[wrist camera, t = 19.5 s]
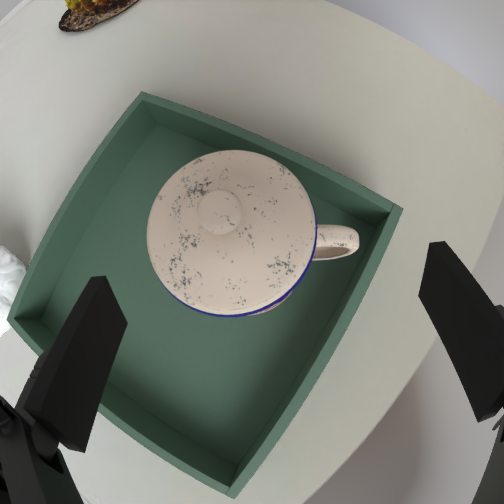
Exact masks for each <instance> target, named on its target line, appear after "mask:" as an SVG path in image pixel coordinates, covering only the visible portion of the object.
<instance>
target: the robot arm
mask: <svg viewBox="0 0 504 504" xmlns="http://www.w3.org/2000/svg"><path fill="white" fill-rule="evenodd" d="M418 296H419V298H420V300H421V302H422V304H423V305H424V307H425V309H426V311H427V313H428V315H429V317H430V319H431V321H432V322H433V324H434V326H435V328H436V330H437V332H438V334H439V336H440V338H441V340H442V342H443V344H444V346H445V348H446V350H447V352H448V354H449V357H450V359H451V361H452V363H453V365H454V367H455V369H456V372H457V373H458V376H459V378H460V381H461V383H462V385H463V387H464V390H465V392H466V394H467V397H468V399H469V402H470V404H471V407H472V409H473V411H474V414H475V417H476V419H477V422H481V421H483V420H486V419H488V418H491V417H493V416H495V415H496V414H497V413H498V411H499V410H500V409H501V408H502V406H503V409H504V307H503V306H502V305H497V306H494V305H493V303H492V302H491V300H490V299H489V297H488V296H487V295H486V293H485V292H484V291H483V289H482V288H481V286H480V285H479V284H478V282H477V281H476V280H475V278H474V277H473V276H472V274H471V273H470V272H469V270H468V269H467V268H466V267H465V265H464V264H463V263H462V262H461V260H460V259H459V258H458V257H457V255H456V254H455V253H454V252H453V250H452V249H451V248H450V247H449V246H448V244H447V243H446V242H445V241H442V242H433V243H429V248H428V253H427V258H426V263H425V268H424V273H423V278H422V282H421V286H420V291H419V295H418ZM127 325H128V322H127V320H126V318H125V316H124V314H123V312H122V310H121V308H120V306H119V303H118V301H117V299H116V297H115V295H114V293H113V290H112V288H111V286H110V284H109V281H108V279H107V277H106V275H105V276H94V277H91V278H90V279H89V281H88V283H87V284H86V286H85V288H84V289H83V291H82V293H81V294H80V296H79V298H78V300H77V301H76V303H75V305H74V306H73V308H72V310H71V312H70V314H69V315H68V317H67V319H66V321H65V323H64V324H63V326H62V328H61V330H60V332H59V334H58V336H57V337H56V339H55V341H54V343H53V345H52V347H47V349H46V350H45V351H44V352H43V353H42V354H41V355H40V356H39V358H38V360H37V362H36V364H35V366H34V370H32V372H31V374H30V378H28V380H27V382H26V384H25V386H24V389H23V391H22V393H21V395H20V397H19V399H18V402H17V404H16V406H15V408H13V407H12V406H11V405H10V404H9V403H8V402H7V401H6V400H5V399H4V398H3V397H2V396H0V504H84V503H83V501H82V498H81V496H80V494H79V492H78V490H77V488H76V486H75V483H74V481H73V479H72V477H71V474H70V472H69V470H68V467H67V465H66V462H65V460H64V457H63V455H62V453H61V451H60V450H59V449H58V444H59V442H60V443H62V444H63V445H64V446H65V447H66V448H68V449H70V450H74V451H79V452H83V453H85V451H86V447H87V443H88V440H89V437H90V433H91V430H92V426H93V423H94V420H95V417H96V413H97V410H98V407H99V404H100V401H101V398H102V395H103V392H104V389H105V386H106V383H107V380H108V377H109V374H110V371H111V368H112V365H113V363H114V360H115V357H116V354H117V352H118V349H119V346H120V343H121V341H122V338H123V335H124V333H125V330H126V327H127ZM499 425H500V427H499V431H498V434H497V437H496V440H495V444H494V447H493V450H492V453H491V456H490V459H489V461H488V464H487V467H486V470H485V472H484V475H483V478H482V480H481V483H480V485H479V487H478V490H477V492H476V495H475V497H474V499H473V502H472V504H504V415H503V416H502V417H501V418H500V420H499V421H498V422H497V423H496V424H495V426H494V427H493V429H492V430H495V429H496V428H497V427H498V426H499Z"/></svg>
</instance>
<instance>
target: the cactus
mask: <svg viewBox="0 0 504 504" xmlns="http://www.w3.org/2000/svg"><path fill="white" fill-rule="evenodd" d="M65 1H66V3H67V4H66V6H67V7H68V10H67V11H66V12H65V13H64V14H63V16H62V18H61V21H60V22H59V26H58V27H59V28H60V29H61V30H63V31H66V32H70V31H76V32H77V31H83V30H85V29H88V28H91V27H92V26H93V25H94V24H95V23H98V22H101V21H103V20H105V19H108V18H110V17H112V16H114V15H116V14H118V13H120V12H121V11H123V10H125V9H126V8H127V7H129V6H130V5H131V4H133V3H134V2H136V1H137V0H65Z"/></svg>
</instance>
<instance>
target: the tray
mask: <svg viewBox="0 0 504 504" xmlns="http://www.w3.org/2000/svg"><path fill="white" fill-rule="evenodd" d="M225 150H243V151H250V152H255V153H259V154H262V155H265V156H267V157H269V158H271V159H273V160H275V161H277V162H279V163H280V164H282V165H283V166H285V167H286V168H287V169H288V170H289V171H291V172H292V173H293V174H294V175H295V176H296V178H297V179H298V180H299V181H300V182H301V183H302V185H303V186H304V188H305V189H306V191H307V193H308V195H309V197H310V199H311V201H312V204H313V207H314V210H315V214H316V219H317V225H341V226H346V227H349V228H352V229H354V230H355V231H356V232H357V233H358V235H359V248H358V249H357V250H356V251H355V252H354V253H352V254H350V255H347V256H344V257H341V258H336V259H328V260H312V262H311V264H310V266H309V268H308V270H307V272H306V274H305V275H304V277H303V278H302V280H301V281H300V283H299V284H298V285H297V286H296V287H295V288H294V290H293V291H292V292H291V294H290V295H289V296H288V297H287V298H286V299H285V300H284V301H283V302H282V303H280V304H279V305H278V306H276V307H275V308H273V309H271V310H269V311H266V312H264V313H260V314H256V315H247V316H242V317H216V316H210V315H206V314H203V313H200V312H198V311H195V310H193V309H191V308H189V307H187V306H185V305H184V304H182V303H181V302H179V301H178V300H177V299H176V298H174V297H173V296H172V295H171V294H170V293H169V292H168V291H167V290H166V289H165V287H164V286H163V285H162V283H161V282H160V280H159V279H158V277H157V275H156V273H155V271H154V269H153V266H152V264H151V261H150V257H149V253H148V247H147V225H148V219H149V215H150V211H151V208H152V205H153V203H154V201H155V199H156V197H157V195H158V193H159V192H160V190H161V189H162V187H163V186H164V184H165V183H166V182H167V181H168V180H169V179H170V178H171V176H172V175H173V174H174V173H176V172H177V171H178V170H179V169H180V168H182V167H183V166H185V165H186V164H188V163H189V162H191V161H193V160H195V159H197V158H199V157H201V156H204V155H207V154H210V153H214V152H219V151H225ZM402 211H403V208H402V207H400V206H398V205H396V204H395V203H393V202H391V201H389V200H388V199H386V198H384V197H382V196H380V195H379V194H377V193H375V192H373V191H371V190H370V189H368V188H366V187H364V186H362V185H360V184H359V183H357V182H355V181H353V180H351V179H349V178H347V177H345V176H343V175H341V174H339V173H337V172H335V171H334V170H332V169H330V168H328V167H326V166H324V165H322V164H319V163H317V162H315V161H313V160H311V159H309V158H307V157H305V156H303V155H301V154H299V153H297V152H294V151H292V150H290V149H288V148H286V147H284V146H281V145H279V144H277V143H275V142H272V141H270V140H268V139H266V138H263V137H261V136H259V135H256V134H254V133H252V132H249V131H247V130H245V129H242V128H240V127H237V126H235V125H233V124H230V123H228V122H225V121H223V120H220V119H217V118H215V117H212V116H210V115H207V114H204V113H202V112H199V111H196V110H194V109H191V108H188V107H186V106H183V105H180V104H177V103H174V102H171V101H169V100H166V99H163V98H160V97H157V96H154V95H151V94H148V93H145V92H141V93H140V94H139V95H138V96H137V98H136V99H135V100H134V101H133V102H132V104H131V105H130V106H129V107H128V109H127V110H126V111H125V112H124V114H123V115H122V116H121V118H120V119H119V120H118V121H117V123H116V124H115V125H114V127H113V128H112V129H111V131H110V132H109V133H108V135H107V136H106V137H105V139H104V140H103V142H102V143H101V144H100V146H99V147H98V149H97V150H96V152H95V153H94V154H93V156H92V157H91V159H90V160H89V162H88V163H87V165H86V166H85V168H84V169H83V171H82V172H81V174H80V175H79V177H78V179H77V180H76V182H75V183H74V185H73V186H72V188H71V190H70V191H69V193H68V195H67V196H66V198H65V200H64V201H63V203H62V205H61V206H60V208H59V210H58V212H57V213H56V215H55V217H54V219H53V220H52V222H51V224H50V226H49V228H48V230H47V231H46V233H45V235H44V237H43V239H42V241H41V243H40V245H39V247H38V249H37V251H36V253H35V255H34V257H33V259H32V261H31V263H30V265H29V267H28V269H27V272H26V274H25V276H24V278H23V280H22V283H21V285H20V287H19V289H18V292H17V294H16V297H15V299H14V301H13V304H12V306H11V309H10V311H9V314H8V316H7V319H6V320H7V322H8V323H9V324H10V325H11V326H12V327H13V329H14V330H15V331H16V332H17V333H18V334H19V336H20V337H21V338H22V339H23V340H24V341H25V342H26V343H27V344H28V346H29V347H30V348H31V349H32V350H33V351H34V352H35V353H36V354H37V355H38V356H40V355H41V354H42V353H43V352H44V351H45V350H46V349H47V347H52V345H53V343H54V341H55V339H56V337H57V336H58V334H59V332H60V330H61V328H62V326H63V324H64V323H65V321H66V319H67V317H68V315H69V314H70V312H71V310H72V308H73V306H74V305H75V303H76V301H77V300H78V298H79V296H80V294H81V293H82V291H83V289H84V288H85V286H86V284H87V283H88V281H89V279H90V278H91V277H94V276H105V275H106V277H107V279H108V281H109V284H110V286H111V288H112V290H113V293H114V295H115V297H116V299H117V301H118V303H119V306H120V308H121V310H122V312H123V314H124V316H125V318H126V320H127V322H128V325H127V327H126V330H125V333H124V335H123V338H122V341H121V343H120V346H119V349H118V352H117V354H116V357H115V360H114V363H113V365H112V368H111V371H110V374H109V377H108V380H107V383H106V386H105V389H104V392H103V395H102V398H101V401H100V404H99V407H98V410H97V411H98V412H99V413H101V414H102V415H103V416H104V417H106V418H107V419H108V420H109V421H111V422H112V423H113V424H114V425H116V426H117V427H118V428H120V429H121V430H122V431H124V432H125V433H126V434H128V435H129V436H130V437H132V438H133V439H135V440H136V441H137V442H139V443H140V444H142V445H143V446H144V447H146V448H147V449H149V450H150V451H152V452H153V453H155V454H156V455H158V456H159V457H161V458H162V459H164V460H165V461H167V462H169V463H170V464H172V465H173V466H175V467H177V468H178V469H180V470H181V471H183V472H185V473H187V474H188V475H190V476H192V477H193V478H195V479H197V480H199V481H200V482H202V483H204V484H206V485H208V486H209V487H211V488H213V489H215V490H217V491H219V492H221V493H223V494H225V495H227V496H229V497H231V498H233V499H235V498H236V497H237V495H238V494H239V493H240V492H241V490H242V489H243V488H244V487H245V485H246V484H247V483H248V481H249V480H250V479H251V477H252V476H253V475H254V474H255V472H256V471H257V470H258V468H259V467H260V466H261V464H262V463H263V461H264V460H265V459H266V457H267V456H268V455H269V453H270V452H271V450H272V449H273V448H274V446H275V445H276V443H277V442H278V440H279V439H280V438H281V436H282V435H283V433H284V432H285V430H286V429H287V427H288V426H289V424H290V423H291V421H292V420H293V418H294V417H295V415H296V414H297V412H298V411H299V409H300V407H301V406H302V404H303V403H304V401H305V400H306V398H307V396H308V395H309V393H310V392H311V390H312V388H313V387H314V385H315V384H316V382H317V380H318V379H319V377H320V375H321V374H322V372H323V370H324V369H325V367H326V365H327V363H328V362H329V360H330V358H331V357H332V355H333V353H334V351H335V349H336V348H337V346H338V344H339V342H340V341H341V339H342V337H343V335H344V333H345V331H346V330H347V328H348V326H349V324H350V322H351V320H352V318H353V316H354V315H355V313H356V311H357V309H358V307H359V305H360V303H361V301H362V299H363V297H364V295H365V293H366V291H367V289H368V287H369V285H370V283H371V281H372V279H373V277H374V275H375V273H376V270H377V268H378V266H379V264H380V262H381V260H382V258H383V255H384V253H385V251H386V249H387V246H388V244H389V242H390V240H391V237H392V235H393V233H394V230H395V228H396V226H397V223H398V221H399V219H400V216H401V214H402Z"/></svg>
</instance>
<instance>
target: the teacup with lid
mask: <svg viewBox="0 0 504 504" xmlns="http://www.w3.org/2000/svg"><path fill="white" fill-rule="evenodd" d="M147 247H148V253H149V257H150V261H151V264H152V266H153V269H154V271H155V273H156V275H157V277H158V279H159V280H160V282H161V283H162V285H163V286H164V287H165V289H166V290H167V291H168V292H169V293H170V294H171V295H172V296H173V297H174V298H176V299H177V300H178V301H179V302H181V303H182V304H184V305H185V306H187V307H189V308H191V309H193V310H195V311H198V312H200V313H203V314H206V315H210V316H216V317H242V316H247V315H256V314H260V313H264V312H266V311H269V310H271V309H273V308H275V307H276V306H278V305H279V304H280V303H282V302H283V301H284V300H285V299H286V298H287V297H288V296H289V295H290V294H291V292H292V291H293V290H294V288H295V287H296V286H297V285H298V284H299V283H300V281H301V280H302V278H303V277H304V275H305V274H306V272H307V270H308V268H309V266H310V264H311V262H312V260H328V259H336V258H341V257H344V256H347V255H350V254H352V253H354V252H355V251H356V250H357V249H358V248H359V235H358V233H357V232H356V231H355V230H354V229H352V228H349V227H346V226H341V225H317V219H316V214H315V210H314V207H313V204H312V201H311V199H310V197H309V195H308V193H307V191H306V189H305V188H304V186H303V185H302V183H301V182H300V181H299V180H298V179H297V178H296V176H295V175H294V174H293V173H292V172H291V171H289V170H288V169H287V168H286V167H285V166H283V165H282V164H280V163H279V162H277V161H275V160H273V159H271V158H269V157H267V156H265V155H262V154H259V153H255V152H250V151H243V150H225V151H219V152H214V153H210V154H207V155H204V156H201V157H199V158H197V159H195V160H193V161H191V162H189V163H188V164H186V165H185V166H183V167H182V168H180V169H179V170H178V171H177V172H176V173H174V174H173V175H172V176H171V178H170V179H169V180H168V181H167V182H166V183H165V184H164V186H163V187H162V189H161V190H160V192H159V193H158V195H157V197H156V199H155V201H154V203H153V205H152V208H151V211H150V215H149V219H148V225H147Z"/></svg>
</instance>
